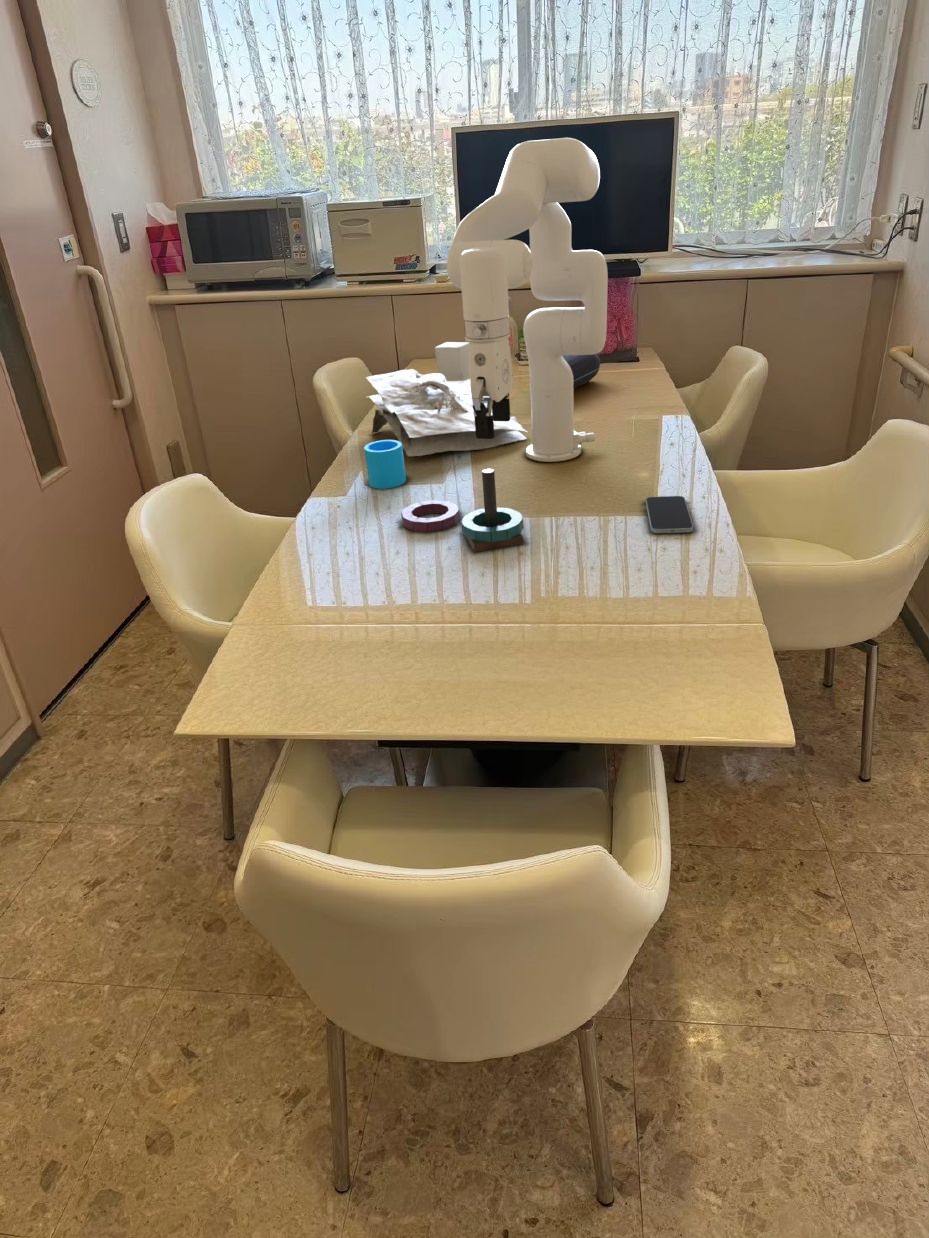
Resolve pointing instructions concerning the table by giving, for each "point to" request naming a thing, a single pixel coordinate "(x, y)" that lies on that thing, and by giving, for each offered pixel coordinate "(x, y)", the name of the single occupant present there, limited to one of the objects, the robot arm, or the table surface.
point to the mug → (385, 464)
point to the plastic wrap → (433, 413)
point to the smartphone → (668, 514)
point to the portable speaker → (583, 367)
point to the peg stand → (492, 516)
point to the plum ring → (430, 524)
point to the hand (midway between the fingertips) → (493, 429)
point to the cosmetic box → (453, 360)
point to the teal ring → (492, 533)
